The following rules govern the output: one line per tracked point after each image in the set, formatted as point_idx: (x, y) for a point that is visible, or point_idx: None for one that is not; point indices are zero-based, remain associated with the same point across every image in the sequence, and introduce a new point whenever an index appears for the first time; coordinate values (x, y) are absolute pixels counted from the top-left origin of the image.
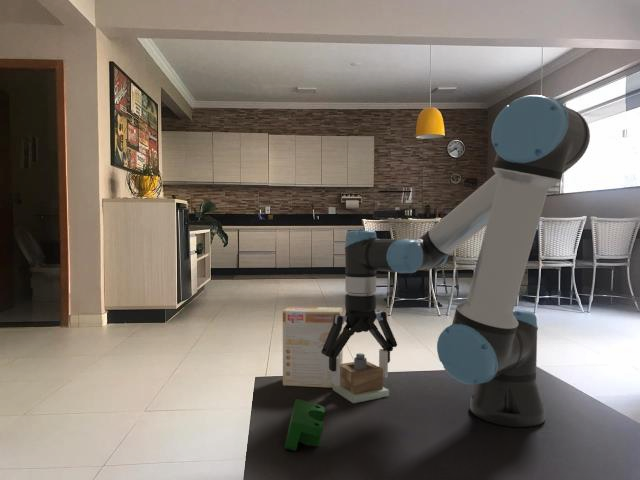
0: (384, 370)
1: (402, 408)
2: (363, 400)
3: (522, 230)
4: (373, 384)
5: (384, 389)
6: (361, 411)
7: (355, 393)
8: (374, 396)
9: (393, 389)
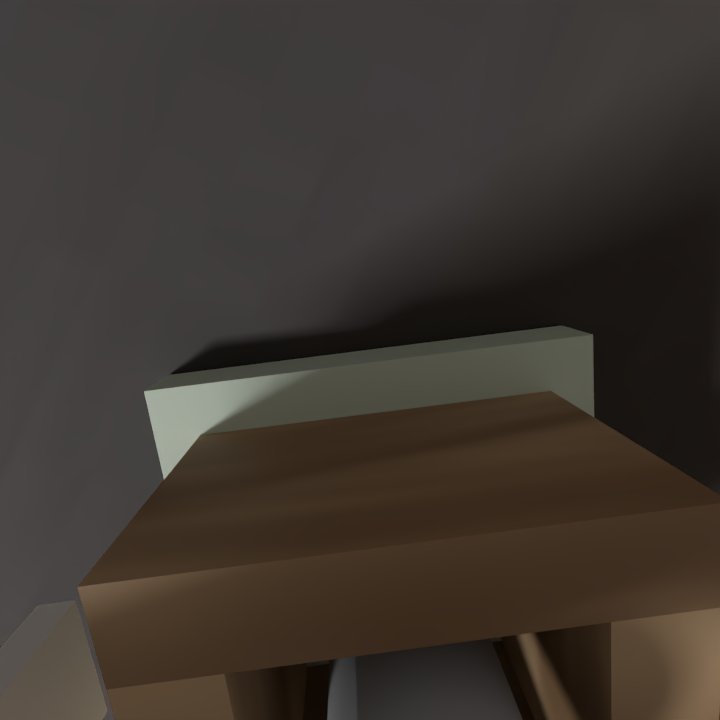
0: (23, 691)
1: (173, 32)
2: (454, 341)
3: None
4: (315, 445)
5: (185, 422)
6: (588, 115)
7: (541, 394)
8: (333, 357)
9: (52, 519)
